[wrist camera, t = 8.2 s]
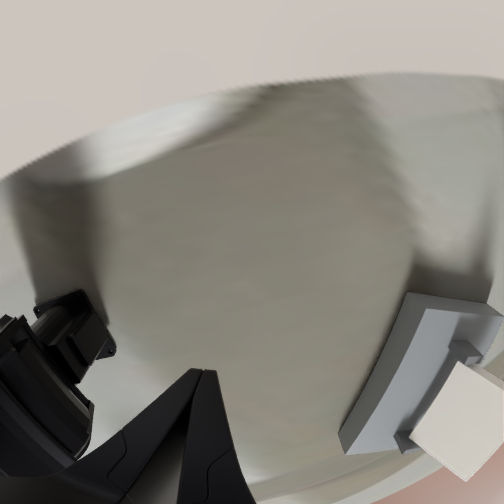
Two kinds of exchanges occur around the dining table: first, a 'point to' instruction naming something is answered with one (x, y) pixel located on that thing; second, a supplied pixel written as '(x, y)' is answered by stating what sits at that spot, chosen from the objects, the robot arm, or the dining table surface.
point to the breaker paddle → (464, 420)
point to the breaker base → (416, 369)
